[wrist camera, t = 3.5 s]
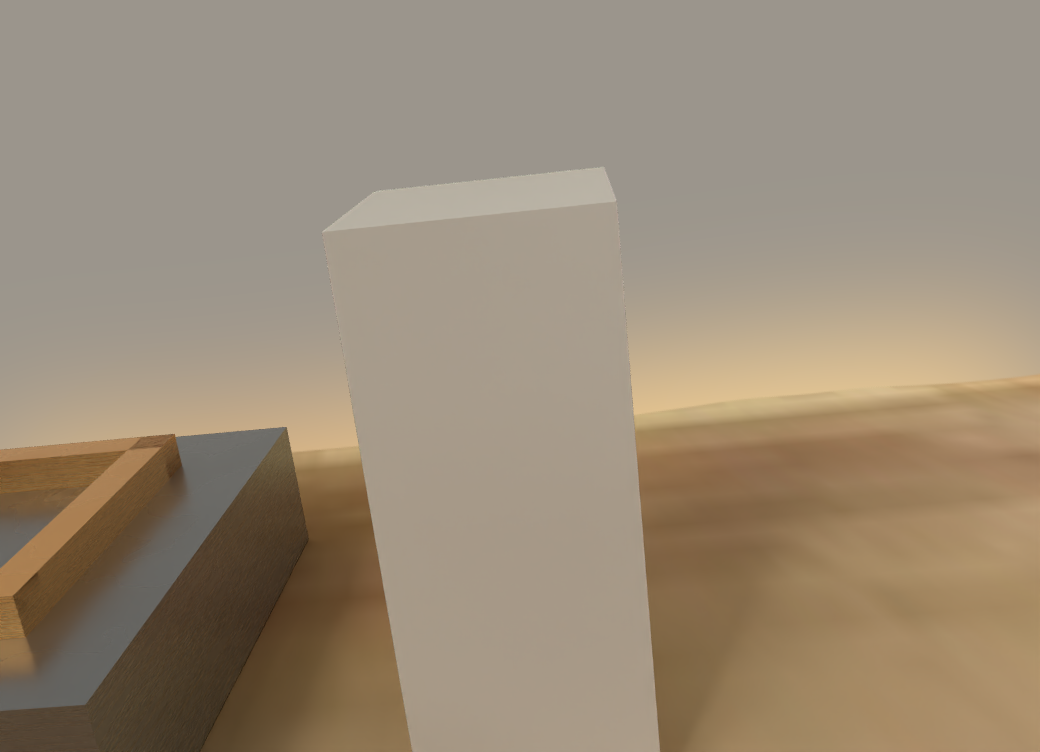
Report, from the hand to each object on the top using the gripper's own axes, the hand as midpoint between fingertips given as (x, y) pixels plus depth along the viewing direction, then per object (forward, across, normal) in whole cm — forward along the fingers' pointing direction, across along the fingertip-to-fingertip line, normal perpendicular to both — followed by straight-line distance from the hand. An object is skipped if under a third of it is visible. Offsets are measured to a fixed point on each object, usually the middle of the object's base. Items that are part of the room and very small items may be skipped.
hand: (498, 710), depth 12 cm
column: (+9, 0, -7) cm, 11 cm away
